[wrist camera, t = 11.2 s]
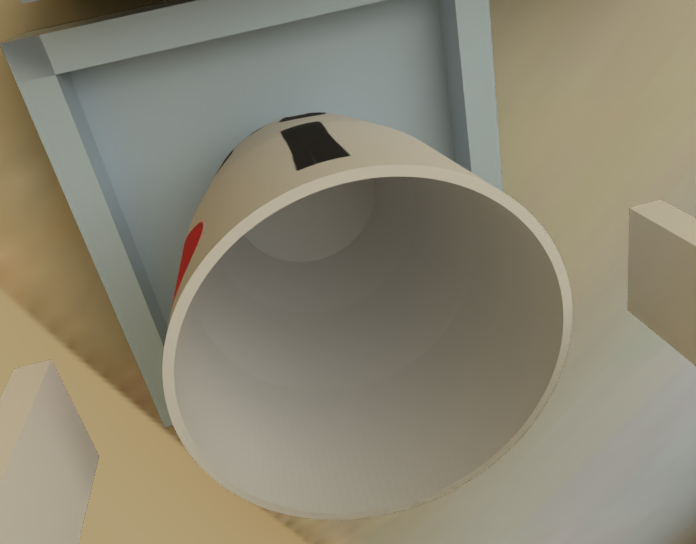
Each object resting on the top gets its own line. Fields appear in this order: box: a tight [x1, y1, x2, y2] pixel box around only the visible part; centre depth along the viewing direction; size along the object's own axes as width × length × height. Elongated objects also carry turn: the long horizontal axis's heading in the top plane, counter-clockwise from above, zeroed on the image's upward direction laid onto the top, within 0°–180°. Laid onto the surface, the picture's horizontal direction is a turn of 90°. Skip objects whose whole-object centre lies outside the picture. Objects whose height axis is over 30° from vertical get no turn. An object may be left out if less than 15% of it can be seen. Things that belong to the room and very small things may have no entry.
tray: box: [0, 0, 503, 427], centre depth 21 cm, size 13×13×2 cm
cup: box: [162, 112, 573, 520], centre depth 17 cm, size 8×8×10 cm
